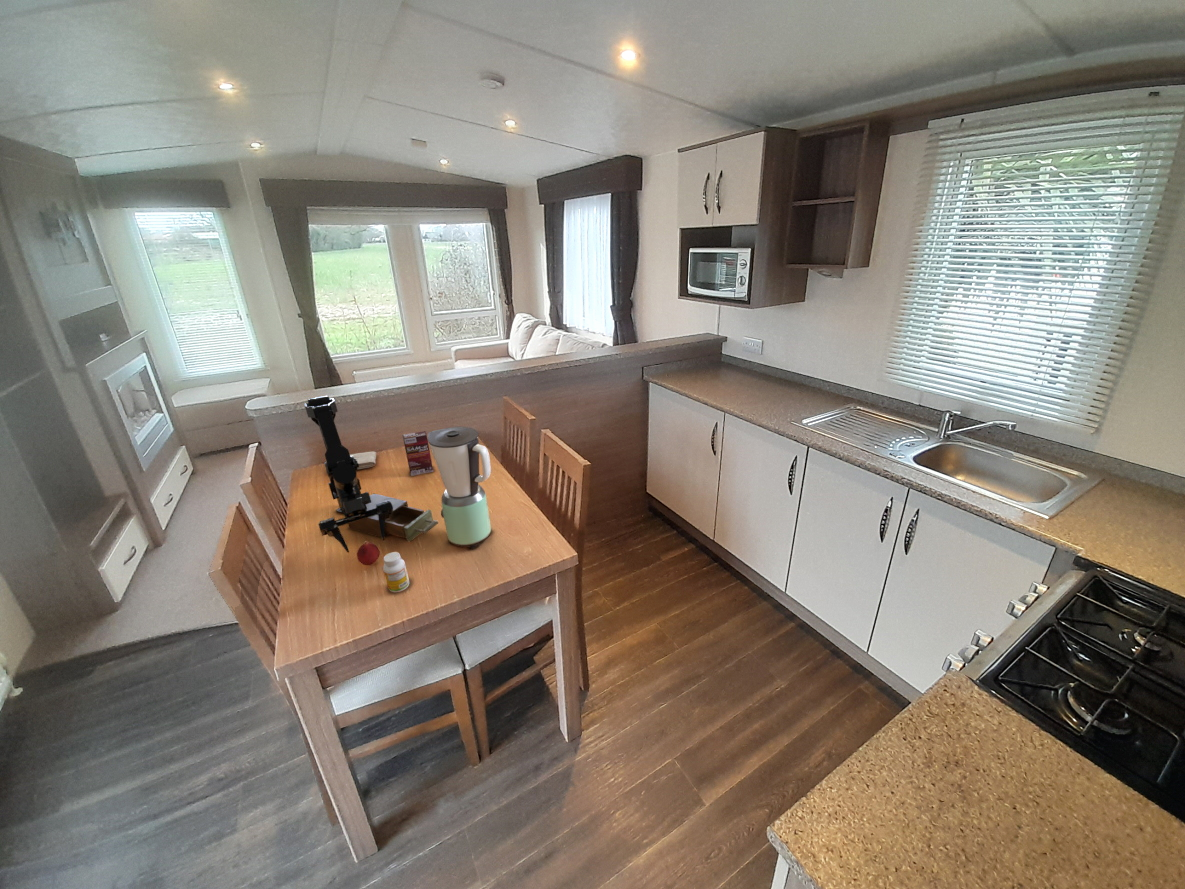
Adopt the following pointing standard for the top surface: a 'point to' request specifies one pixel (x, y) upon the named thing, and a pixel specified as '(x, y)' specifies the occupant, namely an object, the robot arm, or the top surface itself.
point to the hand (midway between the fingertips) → (366, 546)
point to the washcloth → (365, 459)
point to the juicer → (462, 484)
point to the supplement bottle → (395, 572)
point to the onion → (368, 553)
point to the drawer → (409, 522)
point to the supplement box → (418, 453)
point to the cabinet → (372, 523)
